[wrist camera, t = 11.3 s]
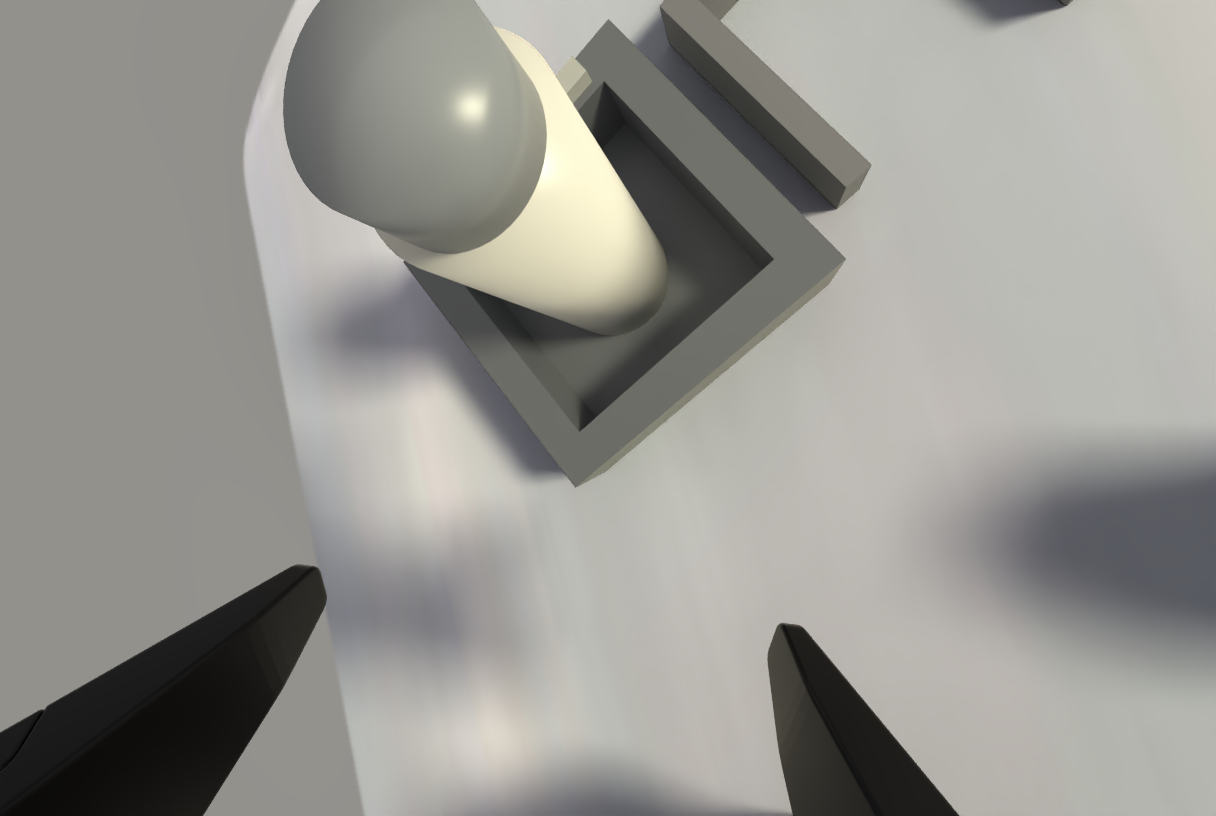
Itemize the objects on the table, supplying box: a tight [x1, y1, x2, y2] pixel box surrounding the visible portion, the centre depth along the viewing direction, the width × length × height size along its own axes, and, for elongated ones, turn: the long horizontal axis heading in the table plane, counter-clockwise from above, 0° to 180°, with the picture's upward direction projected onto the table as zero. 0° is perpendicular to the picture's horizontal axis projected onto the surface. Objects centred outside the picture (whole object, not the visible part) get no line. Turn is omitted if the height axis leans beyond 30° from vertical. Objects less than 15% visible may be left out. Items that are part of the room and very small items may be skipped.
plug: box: [283, 0, 670, 336], centre depth 14 cm, size 5×5×13 cm
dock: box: [404, 19, 846, 488], centre depth 19 cm, size 12×12×4 cm
